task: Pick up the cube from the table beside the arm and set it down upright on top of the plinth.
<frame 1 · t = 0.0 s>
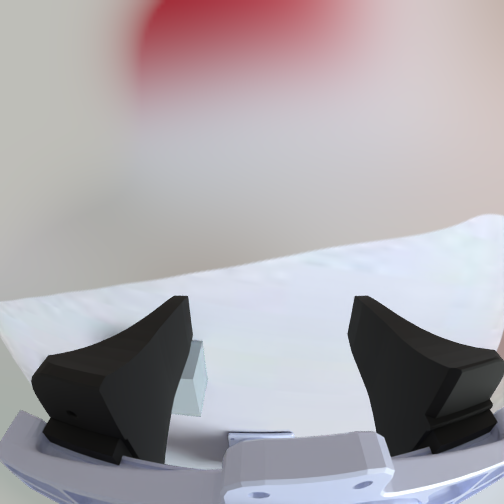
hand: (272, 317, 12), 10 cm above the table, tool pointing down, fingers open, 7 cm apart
block: (179, 359, 26), on the table
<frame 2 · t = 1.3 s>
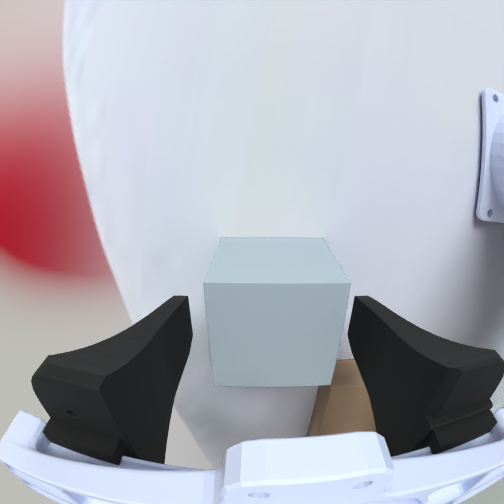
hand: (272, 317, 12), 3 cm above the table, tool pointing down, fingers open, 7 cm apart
block: (271, 282, 15), on the table
plinth: (380, 405, 19), on the table
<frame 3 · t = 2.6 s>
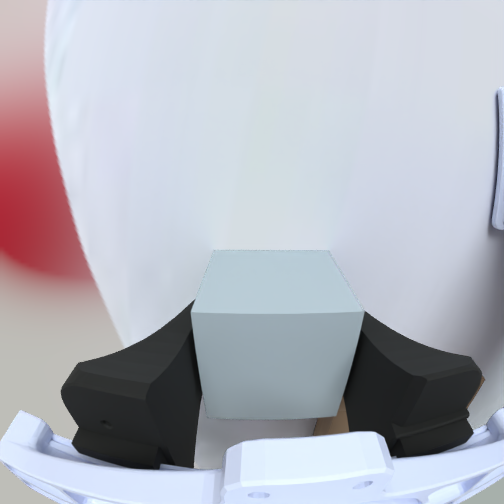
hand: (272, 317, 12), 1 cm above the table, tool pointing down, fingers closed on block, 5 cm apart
block: (270, 300, 14), on the table, touching gripper
plinth: (384, 421, 17), on the table
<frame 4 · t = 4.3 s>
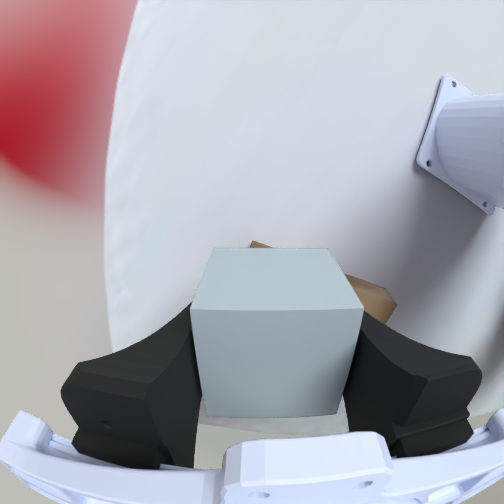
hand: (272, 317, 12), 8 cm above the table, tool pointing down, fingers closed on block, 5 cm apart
block: (270, 298, 14), point 7 cm above the table, touching gripper
plinth: (294, 326, 22), on the table
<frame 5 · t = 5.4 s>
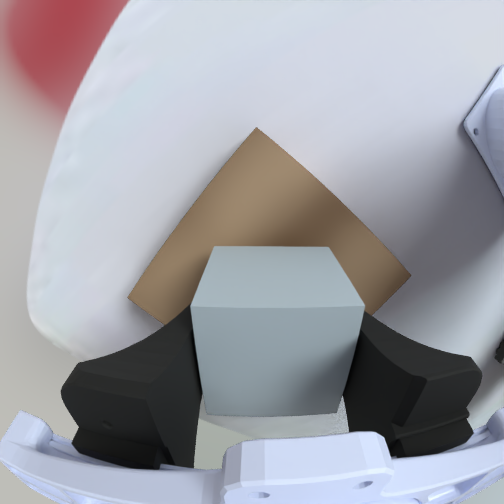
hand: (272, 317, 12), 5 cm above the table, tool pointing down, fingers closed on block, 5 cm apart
block: (270, 297, 14), point 3 cm above the table, touching gripper
plinth: (268, 269, 17), on the table
when the fingers open (5 cm above the table, at t = 6.3 s): block stays where it is, resting on plinth.
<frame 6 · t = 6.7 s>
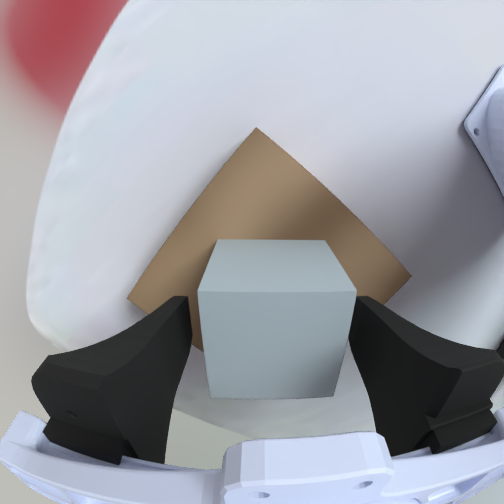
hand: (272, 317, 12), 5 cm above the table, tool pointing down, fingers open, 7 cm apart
block: (270, 287, 14), point 2 cm above the table, touching plinth
plinth: (268, 270, 17), on the table
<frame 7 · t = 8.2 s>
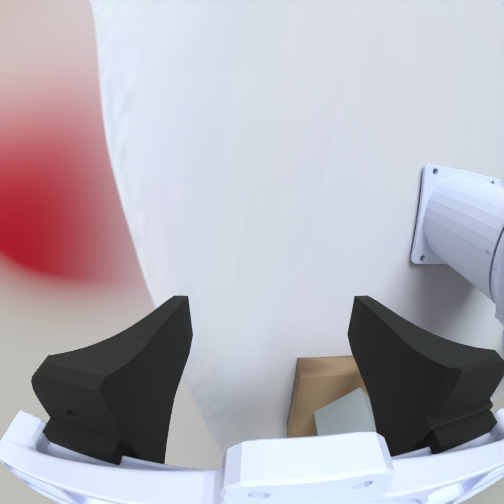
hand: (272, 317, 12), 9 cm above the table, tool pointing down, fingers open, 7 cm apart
block: (348, 410, 24), point 2 cm above the table, touching plinth
plinth: (343, 393, 27), on the table
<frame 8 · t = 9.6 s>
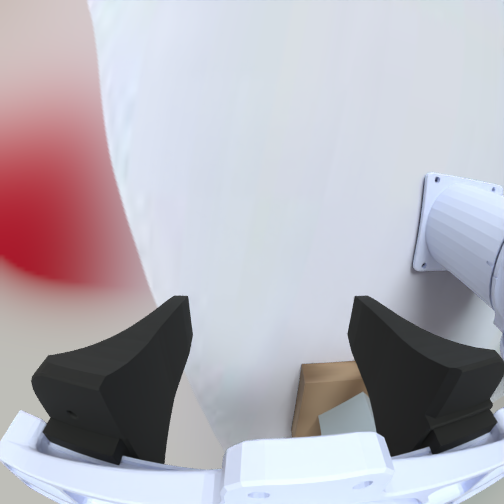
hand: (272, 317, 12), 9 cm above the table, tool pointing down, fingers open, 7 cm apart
block: (351, 414, 25), point 2 cm above the table, touching plinth
plinth: (347, 397, 27), on the table
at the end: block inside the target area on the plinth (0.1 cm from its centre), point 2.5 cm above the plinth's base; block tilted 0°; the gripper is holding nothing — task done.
